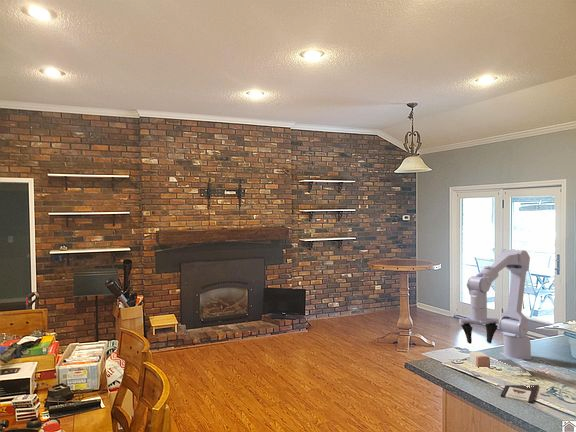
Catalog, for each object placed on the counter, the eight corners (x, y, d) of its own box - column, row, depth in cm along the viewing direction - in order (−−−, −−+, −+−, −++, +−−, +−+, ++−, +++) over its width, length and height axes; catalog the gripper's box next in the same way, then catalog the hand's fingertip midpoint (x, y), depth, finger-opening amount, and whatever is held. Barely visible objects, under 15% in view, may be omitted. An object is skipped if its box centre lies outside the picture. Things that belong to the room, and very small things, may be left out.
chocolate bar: (538, 383, 143) (533, 402, 129) (538, 386, 143) (533, 405, 129) (509, 377, 149) (500, 395, 134) (509, 380, 149) (500, 398, 134)
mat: (510, 360, 168) (510, 359, 168) (536, 377, 150) (536, 375, 150) (455, 361, 168) (455, 359, 168) (475, 378, 150) (475, 376, 150)
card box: (481, 361, 165) (481, 351, 165) (489, 368, 158) (489, 357, 158) (469, 361, 165) (469, 351, 165) (477, 368, 158) (477, 357, 158)
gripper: (464, 309, 158) (464, 346, 158) (502, 309, 158) (503, 345, 158) (456, 306, 165) (457, 340, 165) (493, 305, 165) (494, 340, 165)
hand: (479, 342), depth 162 cm, fingers open, 7 cm apart
